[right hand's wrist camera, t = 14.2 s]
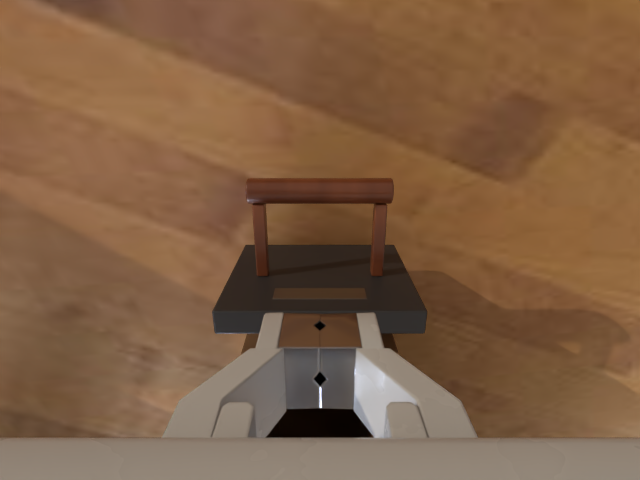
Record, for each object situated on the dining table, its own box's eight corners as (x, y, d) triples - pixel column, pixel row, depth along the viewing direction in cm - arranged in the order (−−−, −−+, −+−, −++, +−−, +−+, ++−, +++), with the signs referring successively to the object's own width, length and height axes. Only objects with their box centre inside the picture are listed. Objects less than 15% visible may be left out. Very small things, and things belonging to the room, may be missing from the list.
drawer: (239, 163, 22) (197, 197, 15) (400, 163, 22) (441, 197, 15) (262, 471, 31) (245, 589, 24) (376, 471, 31) (394, 589, 24)
